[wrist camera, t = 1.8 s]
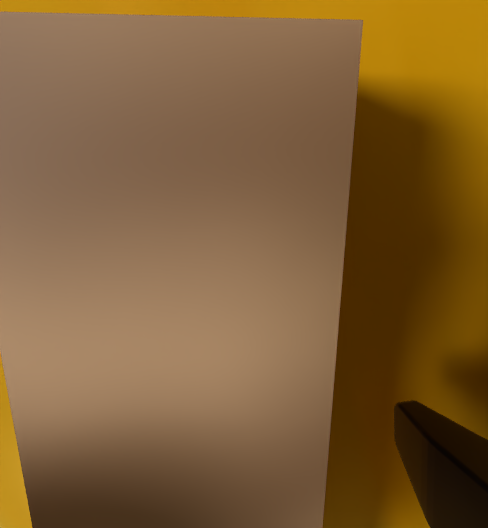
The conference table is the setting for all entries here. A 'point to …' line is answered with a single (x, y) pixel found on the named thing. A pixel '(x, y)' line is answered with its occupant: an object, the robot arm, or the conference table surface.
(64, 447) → the brown block
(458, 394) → the conference table surface
